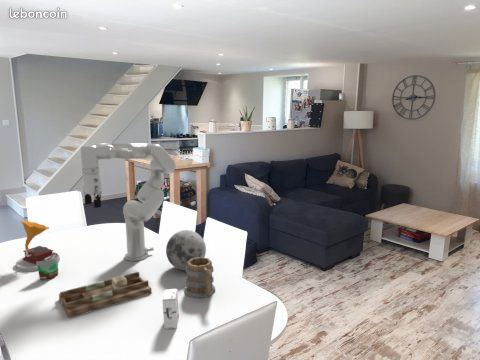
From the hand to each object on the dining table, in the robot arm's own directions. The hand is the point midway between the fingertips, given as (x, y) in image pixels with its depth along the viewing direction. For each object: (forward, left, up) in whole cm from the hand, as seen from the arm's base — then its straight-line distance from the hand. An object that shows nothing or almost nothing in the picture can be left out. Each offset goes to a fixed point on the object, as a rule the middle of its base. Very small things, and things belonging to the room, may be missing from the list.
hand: (93, 205), depth 179 cm
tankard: (-30, +53, -34) cm, 70 cm away
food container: (+20, -6, -34) cm, 40 cm away
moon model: (-37, +24, -34) cm, 56 cm away
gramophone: (+23, -28, -34) cm, 49 cm away
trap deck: (+5, +29, -34) cm, 45 cm away
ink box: (-9, +65, -34) cm, 74 cm away
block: (-1, +29, -31) cm, 43 cm away
